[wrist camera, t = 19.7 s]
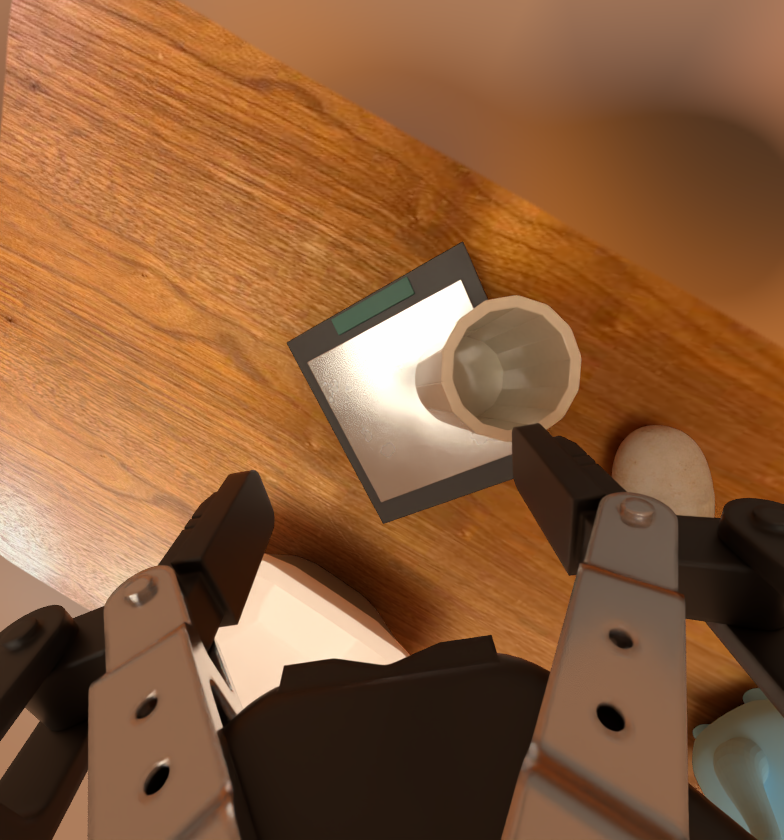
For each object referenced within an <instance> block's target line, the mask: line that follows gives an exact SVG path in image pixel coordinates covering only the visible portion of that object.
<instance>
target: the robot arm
mask: <svg viewBox="0 0 784 840" xmlns="http://www.w3.org/2000/svg"><path fill="white" fill-rule="evenodd" d="M512 467H513V477H514V481H515V484H516V487H517V489H518V491H519V493H520V494H521V496H522V498H523V499H524V501H525V503H526V504H527V506H528V508H529V509H530V511H531V513H532V514H533V516H534V518H535V519H536V521H537V523H538V524H539V526H540V528H541V530H542V531H543V533H544V535H545V536H546V538H547V540H548V541H549V543H550V545H551V546H552V548H553V550H554V551H555V553H556V555H557V556H558V558H559V560H560V561H561V563H562V565H563V566H564V568H565V570H566V571H567V573H568V575H569V576H570V575H576V578H575V582H574V586H573V590H572V593H571V597H570V601H569V604H568V608H567V612H566V616H565V619H564V623H563V627H562V630H561V634H560V638H559V642H558V645H557V649H556V653H555V656H554V660H553V664H552V668H551V671H548V670H546V669H544V668H542V667H540V666H538V665H536V664H534V663H532V662H529V661H527V660H524V659H522V658H518V657H515V656H511V655H507V654H501V653H497V652H496V649H495V645H494V642H493V639H492V635H488V636H481V637H474V638H468V639H461V640H454V641H447V642H440V643H438V644H435V645H433V646H431V647H428V648H426V649H424V650H422V651H419V652H417V653H415V654H412V655H410V656H408V657H405V658H403V659H401V660H399V661H396V662H394V663H391V664H388V665H379V664H372V663H365V662H358V661H351V660H344V659H337V658H332V659H325V660H318V661H311V662H305V663H298V664H291V665H284V667H283V672H282V676H281V681H280V685H279V686H278V687H275V688H273V689H272V690H270V691H268V692H266V693H265V694H263V695H261V696H260V697H258V698H257V699H256V700H254V701H253V702H251V703H250V704H249V705H248V706H246V707H245V708H244V709H243V707H242V704H241V702H240V700H239V697H238V695H237V692H236V689H235V687H234V684H233V681H232V679H231V676H230V673H229V671H228V668H227V665H226V663H225V660H224V657H223V655H222V652H221V649H220V647H219V644H218V643H217V641H216V639H215V636H216V633H217V631H218V629H219V627H226V626H232V625H238V623H239V620H240V617H241V615H242V612H243V609H244V607H245V604H246V601H247V598H248V596H249V593H250V590H251V588H252V585H253V582H254V580H255V577H256V574H257V572H258V569H259V566H260V563H261V561H262V558H263V555H264V553H265V550H266V547H267V545H268V542H269V539H270V537H271V534H272V531H273V528H274V521H275V520H274V511H273V508H272V505H271V503H270V500H269V498H268V495H267V493H266V490H265V488H264V485H263V483H262V480H261V478H260V475H259V474H258V472H257V471H255V470H251V471H245V472H239V473H233V474H230V475H228V476H227V478H226V479H225V481H224V482H223V484H222V485H221V487H220V488H219V490H218V491H217V492H215V493H213V494H212V495H211V496H210V497H209V498H207V499H206V500H205V501H204V502H203V503H202V504H200V506H199V507H198V509H197V510H196V512H195V513H194V514H193V516H192V519H190V520H189V522H188V523H187V525H186V526H185V527H184V528H185V530H182V532H181V533H180V535H179V536H178V537H177V539H176V540H175V542H174V543H173V545H172V546H171V547H170V549H169V550H168V552H167V553H166V555H165V556H164V558H163V559H162V560H161V562H160V563H159V565H158V566H154V567H151V568H148V569H145V570H143V571H141V572H139V573H137V574H135V575H134V576H132V577H130V578H129V579H127V580H126V581H125V582H124V583H122V584H121V585H120V586H119V587H118V588H117V589H116V590H115V591H114V592H113V593H112V594H111V596H110V597H109V598H108V600H107V602H106V604H105V606H103V607H100V608H98V609H95V610H93V611H90V612H88V613H85V614H83V615H80V616H78V617H75V618H72V617H71V616H70V615H69V614H68V612H67V611H66V610H65V609H64V608H63V607H62V606H59V605H51V606H47V607H43V608H40V609H37V610H35V611H33V612H31V613H29V614H27V615H25V616H23V617H21V618H20V619H18V620H17V621H15V622H13V623H12V624H11V625H9V626H8V627H7V628H5V629H4V630H3V631H2V632H0V741H1V739H2V738H3V737H4V735H5V734H6V733H7V731H8V730H9V729H10V727H11V726H12V724H13V723H14V721H15V720H16V719H17V717H18V716H19V715H20V713H21V712H22V711H23V709H24V708H26V709H27V710H28V711H30V712H31V713H32V714H33V715H34V716H35V717H36V718H37V719H38V720H40V722H39V723H38V725H37V726H36V728H35V729H34V731H33V732H32V734H31V735H30V737H29V738H28V740H27V741H26V743H25V744H24V746H23V747H22V749H21V750H20V752H19V753H18V755H17V756H16V758H15V759H14V761H13V762H12V763H11V765H10V766H9V768H8V769H7V771H6V773H5V774H4V775H3V777H2V778H1V780H0V840H52V839H53V836H54V835H55V833H56V831H57V829H58V827H59V825H60V823H61V821H62V819H63V817H64V815H65V813H66V811H67V809H68V808H69V806H70V804H71V802H72V800H73V798H74V796H75V794H76V792H77V790H78V788H79V786H80V784H81V782H82V780H83V778H84V776H85V774H86V773H87V771H88V840H757V839H756V838H755V837H754V836H753V835H751V834H750V833H749V832H748V831H746V830H745V829H744V828H743V827H742V826H740V825H739V824H738V823H737V822H735V821H734V820H733V819H732V818H731V817H729V816H728V815H727V814H726V813H725V812H723V811H722V810H721V809H720V808H718V807H717V806H716V805H715V804H714V803H712V802H711V801H710V800H709V799H707V798H706V797H705V796H704V795H703V794H701V793H700V792H699V791H698V790H696V789H695V788H694V787H693V786H692V785H690V784H689V783H688V747H687V685H686V624H685V619H692V620H699V621H705V622H706V623H707V625H708V626H709V627H710V628H711V630H712V631H713V632H714V633H715V634H716V636H717V637H718V638H719V639H720V641H721V642H722V643H723V644H724V645H725V647H726V648H727V649H728V650H729V652H730V653H731V654H732V655H733V656H734V658H735V659H736V660H737V661H738V663H739V664H740V665H741V666H742V667H743V669H744V670H745V671H746V672H747V674H748V675H749V676H750V677H751V679H752V680H753V681H754V682H755V683H756V685H757V686H758V687H759V688H760V690H761V691H762V692H763V693H764V694H765V696H766V697H767V698H768V699H769V701H770V702H771V703H772V704H773V705H774V707H775V708H776V709H777V710H778V712H779V713H780V714H781V715H782V716H783V718H784V504H781V503H778V502H774V501H769V500H764V499H756V498H741V499H735V500H732V501H730V502H728V503H727V504H726V505H725V506H724V509H723V512H722V515H721V518H712V517H697V516H683V515H676V514H675V513H674V511H673V510H672V509H671V508H670V507H669V506H667V505H666V504H664V503H663V502H661V501H659V500H657V499H655V498H653V497H650V496H647V495H643V494H639V493H633V492H627V491H626V490H625V489H624V488H623V487H621V486H620V485H619V484H618V483H617V482H616V481H615V480H614V479H613V478H612V477H611V476H610V475H609V474H608V473H607V472H606V471H605V470H604V469H603V468H602V467H601V466H599V465H598V464H596V463H595V461H594V460H593V459H592V458H591V457H590V456H589V455H587V453H586V452H585V451H584V450H583V449H582V448H581V447H580V446H579V445H577V444H576V443H575V442H572V441H570V440H568V439H566V438H564V437H562V436H556V437H552V435H551V434H550V433H549V432H548V431H547V430H546V429H545V428H544V427H543V426H542V425H541V424H540V423H535V424H529V425H523V426H517V427H513V429H512Z"/></svg>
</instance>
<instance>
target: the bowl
mask: <svg viewBox="0 0 784 840" xmlns="http://www.w3.org/2000/svg"><path fill="white" fill-rule="evenodd" d="M215 639H216V641H217V643H218V644H219V647H220V649H221V652H222V655H223V657H224V660H225V663H226V665H227V668H228V671H229V673H230V676H231V679H232V681H233V684H234V687H235V689H236V692H237V695H238V697H239V700H240V702H241V704H242V707H243V709H244V708H245V707H246V706H248V705H249V704H250V703H251V702H253V701H254V700H256V699H257V698H258V697H260V696H261V695H263V694H265V693H266V692H268V691H270V690H272V689H273V688H275V687H278V686H279V685H280V681H281V676H282V672H283V667H284V665H291V664H298V663H305V662H311V661H318V660H325V659H332V658H337V659H344V660H351V661H358V662H365V663H372V664H379V665H388V664H391V663H394V662H396V661H399V660H401V659H403V658H405V657H408V656H410V654H409V653H408V652H407V651H406V650H405V649H404V648H403V647H402V646H401V645H400V644H399V643H398V642H397V640H396V639H395V637H394V636H393V634H392V633H391V631H390V630H389V628H388V627H387V625H386V624H385V622H384V621H383V619H382V618H381V616H380V615H379V613H378V612H377V610H376V609H375V608H374V607H373V606H372V605H371V604H370V603H369V602H368V601H367V600H366V598H365V597H364V596H363V595H361V594H360V593H359V592H357V591H356V590H354V589H353V588H351V587H350V586H348V585H347V584H345V583H344V582H342V581H341V580H340V579H338V578H337V577H335V576H334V575H332V574H330V573H329V572H327V571H326V570H324V569H323V568H321V567H320V566H318V565H317V564H315V563H313V562H310V561H308V560H305V559H303V558H301V557H298V556H295V555H279V554H265V553H264V555H263V558H262V561H261V563H260V566H259V569H258V572H257V574H256V577H255V580H254V582H253V585H252V588H251V590H250V593H249V596H248V598H247V601H246V604H245V607H244V609H243V612H242V615H241V617H240V620H239V623H238V625H232V626H226V627H219V629H218V631H217V633H216V636H215Z"/></svg>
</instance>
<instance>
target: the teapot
mask: <svg viewBox="0 0 784 840" xmlns="http://www.w3.org/2000/svg"><path fill="white" fill-rule="evenodd" d="M743 702H744V703H745V704H743V705H741V706H739V707H737V708H735V709H733V710H731V711H729V712H728V713H726V714H724V715H723V716H721V717H720V718H718V719H717V720H715V721H714V722H713V723H711V724H702V725H698V726H697V727H695V728H694V730H693V736H694V738H695V739H696V740H695V741H694V746H693V754H692V765H693V771H694V775H695V777H696V779H697V782H698V784H699V785H700V787H701V789H702V791H703V793H704V795H705V796H706V798H707V799H709V800H710V801H711V802H712V803H714V804H715V805H716V806H717V807H718V808H720V809H721V810H722V811H723V812H725V813H726V814H727V815H728V816H729V817H731V818H732V819H733V820H734V821H735V822H737V823H738V824H739V825H740V826H742V827H743V828H744V829H745V830H746V831H748V832H749V833H750V834H751V835H753V836H754V837H755V838H756V839H757V840H784V718H783V716H782V715H781V714H780V713H779V712H778V710H777V709H776V708H775V707H774V705H773V704H772V703H771V702H770V701H769V699H768V698H767V697H766V696H765V694H764V693H763V692H762V691H761V690H760V688H754V689H751V690H748V691H747V692H746V693H745V694H744V695H743Z"/></svg>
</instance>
